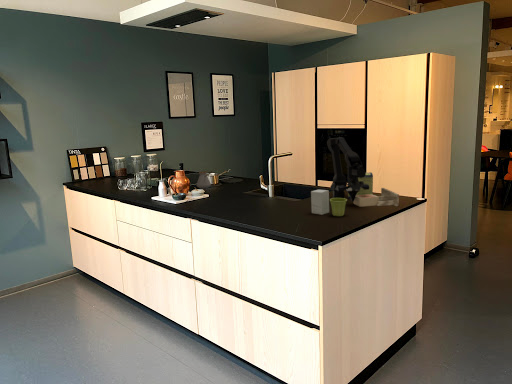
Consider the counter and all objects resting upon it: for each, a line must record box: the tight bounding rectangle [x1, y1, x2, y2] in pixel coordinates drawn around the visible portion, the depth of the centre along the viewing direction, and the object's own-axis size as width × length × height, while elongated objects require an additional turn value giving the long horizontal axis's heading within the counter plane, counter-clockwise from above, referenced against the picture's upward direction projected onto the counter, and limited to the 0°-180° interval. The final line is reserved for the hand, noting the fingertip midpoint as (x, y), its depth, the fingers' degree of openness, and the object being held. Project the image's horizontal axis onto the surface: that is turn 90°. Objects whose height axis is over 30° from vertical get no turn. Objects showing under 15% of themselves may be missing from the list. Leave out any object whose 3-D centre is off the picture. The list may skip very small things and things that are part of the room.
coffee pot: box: [196, 170, 215, 190], centre depth 331 cm, size 21×12×15 cm, turn 38°
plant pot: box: [329, 197, 348, 217], centre depth 228 cm, size 9×9×9 cm
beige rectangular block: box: [353, 194, 379, 208], centre depth 251 cm, size 12×9×5 cm
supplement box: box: [310, 189, 330, 216], centre depth 235 cm, size 7×7×13 cm
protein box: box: [347, 172, 374, 200], centre depth 271 cm, size 10×16×16 cm
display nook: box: [376, 187, 400, 207], centre depth 253 cm, size 11×22×7 cm, turn 6°
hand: (352, 201), depth 251 cm, fingers closed
